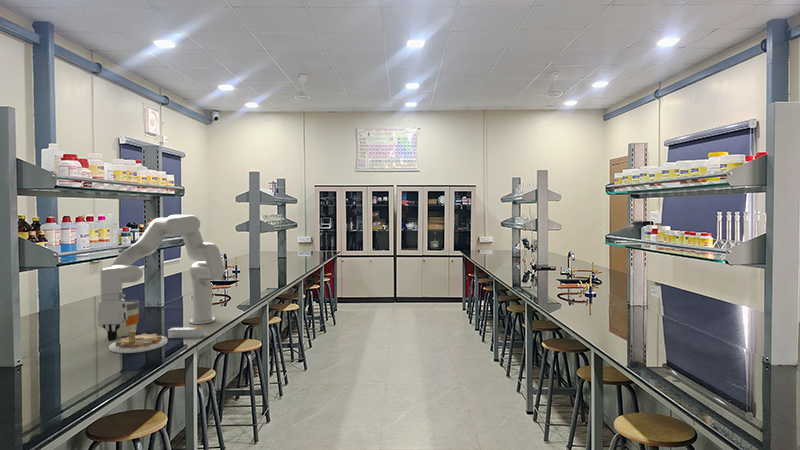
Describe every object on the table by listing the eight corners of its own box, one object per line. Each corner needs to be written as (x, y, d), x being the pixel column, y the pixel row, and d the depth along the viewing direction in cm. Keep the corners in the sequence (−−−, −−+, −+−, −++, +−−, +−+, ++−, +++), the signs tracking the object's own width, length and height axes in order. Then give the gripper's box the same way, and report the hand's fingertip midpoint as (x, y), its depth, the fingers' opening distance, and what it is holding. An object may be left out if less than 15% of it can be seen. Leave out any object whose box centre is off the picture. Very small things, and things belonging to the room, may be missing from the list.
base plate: (125, 338, 206) (125, 334, 206) (175, 337, 207) (175, 334, 207) (97, 353, 184) (97, 350, 184) (153, 352, 186) (153, 349, 186)
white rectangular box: (171, 336, 210) (171, 327, 210) (202, 335, 211) (202, 327, 211) (168, 338, 206) (168, 329, 206) (199, 338, 207) (199, 329, 207)
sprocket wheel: (128, 336, 203) (128, 322, 203) (168, 336, 205) (168, 322, 205) (107, 348, 186) (106, 333, 186) (150, 348, 188) (150, 332, 187)
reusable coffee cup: (123, 329, 220) (123, 299, 219) (146, 331, 217) (145, 300, 217) (102, 336, 207) (101, 304, 207) (125, 338, 205) (125, 305, 204)
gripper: (134, 294, 193) (135, 337, 193) (98, 295, 191) (98, 337, 192) (125, 298, 185) (126, 342, 186) (87, 298, 184) (88, 343, 185)
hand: (112, 340), depth 189 cm, fingers closed
